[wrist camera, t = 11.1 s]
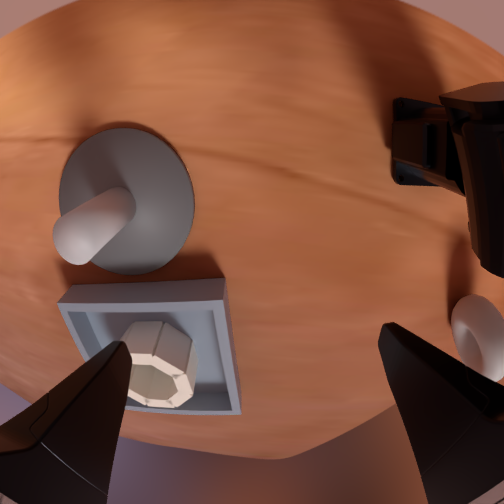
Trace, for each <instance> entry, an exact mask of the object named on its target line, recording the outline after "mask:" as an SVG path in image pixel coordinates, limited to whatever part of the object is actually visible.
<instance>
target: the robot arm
mask: <svg viewBox="0 0 504 504" xmlns="http://www.w3.org/2000/svg"><path fill="white" fill-rule="evenodd" d="M439 98H440V101H441V104H442V105H444V106H441V105H437V104H432V103H428V102H423V101H418V100H413V99H407V98H402V97H400V98H395V99H394V101H393V113H394V123H393V124H392V157H393V158H394V168H393V180H394V182H395V183H397V184H399V185H417V186H440V187H443V188H446V189H448V190H450V191H453V192H455V193H457V194H460V195H462V196H464V197H466V202H467V209H468V217H469V222H468V228H469V232H470V238H471V245H472V249H473V251H474V252H475V254H476V255H477V257H478V258H479V259H480V265H481V266H482V267H483V268H484V269H486V270H487V271H489V272H490V273H492V274H494V275H496V276H499V277H501V278H504V82H489V83H481V84H477V85H474V86H470V87H467V88H463V89H460V90H456V91H453V92H449V93H446V94H443V95H440V96H439ZM399 101H400V102H401V104H402V106H401V107H400V106H399ZM400 175H401V177H402V178H401V180H399V179H398V178H399V176H400ZM378 347H379V351H380V354H381V358H382V361H383V365H384V369H385V372H386V376H387V380H388V383H389V385H390V388H391V391H392V393H393V396H394V398H395V401H396V404H397V406H398V409H399V412H400V414H401V417H402V420H403V423H404V426H405V428H406V431H407V434H408V437H409V440H410V443H411V446H412V449H413V452H414V455H415V458H416V461H417V465H418V468H419V471H420V475H421V479H422V482H423V486H424V489H425V493H426V497H427V500H428V504H504V386H503V385H501V384H499V383H497V382H495V381H493V380H491V379H489V378H487V377H485V376H483V375H482V374H480V373H478V372H476V371H475V370H473V369H471V368H470V367H468V366H466V365H465V364H463V363H461V362H460V361H458V360H457V359H455V358H453V357H452V356H450V355H448V354H447V353H445V352H443V351H442V350H440V349H438V348H437V347H435V346H433V345H432V344H430V343H428V342H427V341H425V340H423V339H422V338H420V337H418V336H417V335H415V334H413V333H412V332H410V331H408V330H407V329H405V328H403V327H402V326H400V325H398V324H397V323H395V322H390V323H385V324H383V326H382V328H381V332H380V336H379V340H378ZM131 369H132V357H131V354H130V352H129V350H128V347H127V345H126V343H125V342H124V341H116V340H115V341H112V342H111V343H110V344H108V345H107V346H106V347H105V348H103V349H102V350H101V351H99V352H98V353H97V354H96V355H94V356H93V357H92V358H91V359H89V360H88V361H87V362H85V363H84V364H83V365H82V366H80V367H79V368H78V369H77V370H75V371H74V372H73V373H71V374H70V375H69V376H68V377H66V378H65V379H64V380H63V381H61V382H60V383H59V384H58V385H56V386H55V387H54V388H53V389H51V390H50V391H49V393H46V394H45V395H44V396H43V397H41V398H40V399H39V400H37V401H36V402H35V403H33V404H32V405H31V406H29V407H28V408H26V409H25V410H24V411H22V412H21V413H19V414H18V415H16V416H15V417H13V418H12V419H10V420H9V421H7V422H6V423H4V424H2V425H1V426H0V504H106V503H107V497H108V496H107V495H108V489H109V483H110V477H111V471H112V465H113V461H114V456H115V450H116V445H117V441H118V436H119V432H120V427H121V423H122V418H123V414H124V410H125V406H126V402H127V397H128V390H129V383H130V376H131Z"/></svg>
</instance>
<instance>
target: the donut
mask: <svg viewBox="0 0 504 504" xmlns="http://www.w3.org/2000/svg"><path fill="white" fill-rule="evenodd" d="M451 326H452V334H453V338H454V342H455V345H456V348H457V351H458V353H459V355H460V357H461V359H462V361H463V363H464V364H465V365H466V366H468V367H470V368H471V369H473V370H475V371H476V372H478V373H480V374H482V375H483V376H485V377H487V378H489V379H491V380H493V381H495V382H497V381H498V380H500V379H502V377H503V376H504V319H503V317H502V315H501V313H500V312H499V311H498V310H497V308H496V307H495V306H494V305H493V304H492V303H491V302H490V301H489V300H487V299H486V298H484V297H482V296H479V295H476V294H470V295H468V296H465V297H463V298H461V299H460V300H459V301H458V302H457V304H456V306H455V307H454V309H453V311H452V317H451Z"/></svg>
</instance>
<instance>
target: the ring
mask: <svg viewBox="0 0 504 504" xmlns="http://www.w3.org/2000/svg"><path fill="white" fill-rule="evenodd" d="M120 341H124V342H125V343H126V345H127V347H128V350H129V352H130V354H131V357H132V369H131V376H130V383H129V390H128V396H129V397H131V398H132V399H134V400H136V401H138V402H140V403H142V404H144V405H146V404H147V405H148V406H152V407H167V408H175V407H178V406H180V405H181V404H183V403H184V402H185V401H187V400H188V399H189V398H191V397H192V396H193V393H194V386H195V380H196V373H197V367H198V358H197V354H196V350H195V347H194V343H193V340H191V338H190V337H188V336H187V335H185V334H184V333H182V332H180V331H179V330H177V329H176V328H174V327H173V326H171V325H170V324H168V323H166V322H165V324H163V321H135V322H134V323H132V324H131V325H130V327H129V328H128V329H127V331H126V332H125V333H124V335H123V336H122V337H121V339H120Z"/></svg>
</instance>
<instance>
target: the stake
mask: <svg viewBox="0 0 504 504" xmlns="http://www.w3.org/2000/svg"><path fill="white" fill-rule="evenodd" d="M59 207H60V213H61V217H60V218H59V219H58V220H57V221H56V223H55V225H54V228H53V240H54V244H55V247H56V249H57V251H58V252H59V254H60V255H61V256H62V257H63V258H64V259H65V260H66V261H68V262H70V263H72V264H75V265H82V264H85V263H87V262H88V261H89V260H90V261H91V262H93V263H94V264H95V265H97V266H99V267H101V268H103V269H105V270H108V271H110V272H113V273H117V274H123V275H139V274H145V273H148V272H152V271H154V270H156V269H159V268H160V267H162V266H164V265H165V264H167V263H168V262H169V261H170V260H171V259H173V257H174V256H175V255H176V254H177V253H178V252H179V250H180V249H181V248H182V246H183V245H184V243H185V241H186V239H187V237H188V235H189V232H190V229H191V226H192V223H193V218H194V209H195V201H194V191H193V186H192V182H191V179H190V176H189V174H188V171H187V169H186V167H185V165H184V164H183V162H182V160H181V159H180V157H179V156H178V155H177V154H176V152H175V151H174V150H173V149H172V148H171V147H170V146H169V145H168V144H167V143H165V142H164V141H163V140H161V139H160V138H158V137H157V136H155V135H153V134H150V133H148V132H145V131H142V130H139V129H132V128H116V129H110V130H106V131H103V132H100V133H97V134H95V135H94V136H92V137H90V138H89V139H87V140H86V141H84V142H83V143H82V144H81V145H80V146H79V147H78V148H77V149H76V150H75V152H74V153H73V154H72V155H71V157H70V159H69V160H68V162H67V164H66V166H65V169H64V171H63V174H62V178H61V182H60V188H59Z"/></svg>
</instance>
